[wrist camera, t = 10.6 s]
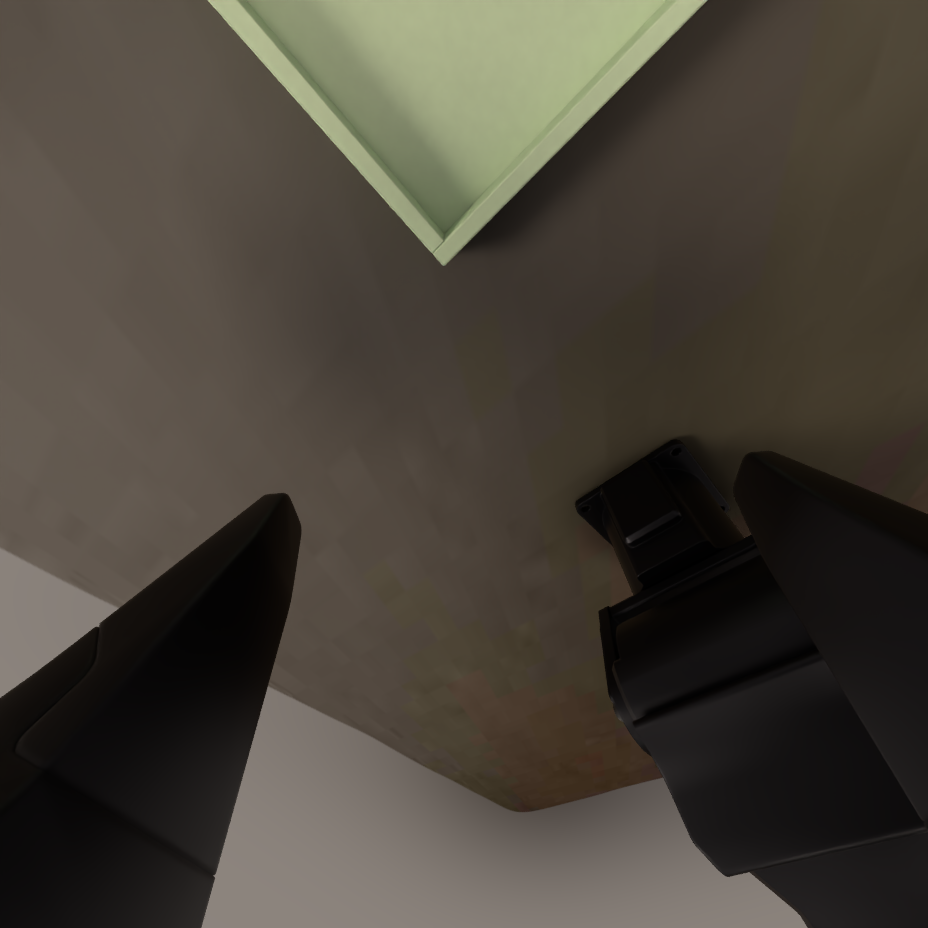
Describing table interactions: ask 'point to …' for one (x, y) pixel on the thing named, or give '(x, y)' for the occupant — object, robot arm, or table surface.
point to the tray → (453, 88)
